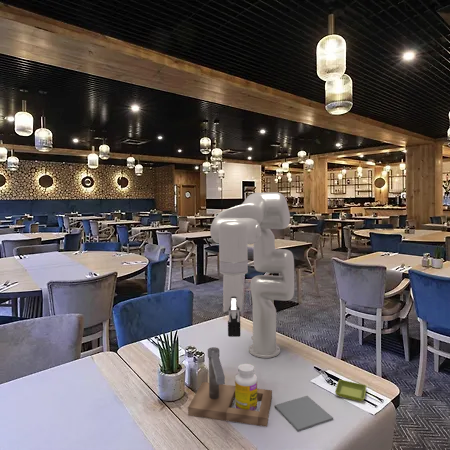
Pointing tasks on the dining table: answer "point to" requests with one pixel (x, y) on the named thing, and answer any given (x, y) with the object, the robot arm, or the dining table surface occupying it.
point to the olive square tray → (351, 390)
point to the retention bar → (216, 365)
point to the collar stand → (227, 403)
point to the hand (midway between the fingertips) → (234, 328)
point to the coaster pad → (303, 413)
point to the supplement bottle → (246, 388)
